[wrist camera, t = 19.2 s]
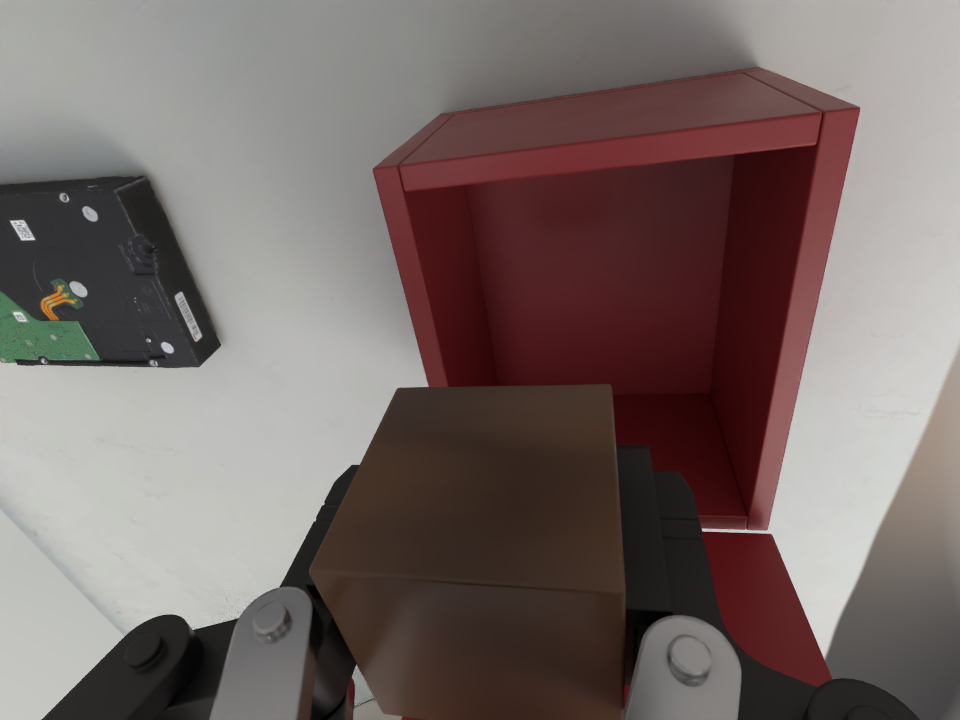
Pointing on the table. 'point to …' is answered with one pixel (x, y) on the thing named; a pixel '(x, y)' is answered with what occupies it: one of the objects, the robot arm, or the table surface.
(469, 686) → the block
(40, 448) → the table surface
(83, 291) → the disk drive
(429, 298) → the red box
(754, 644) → the box lid
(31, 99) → the table surface
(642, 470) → the robot arm
